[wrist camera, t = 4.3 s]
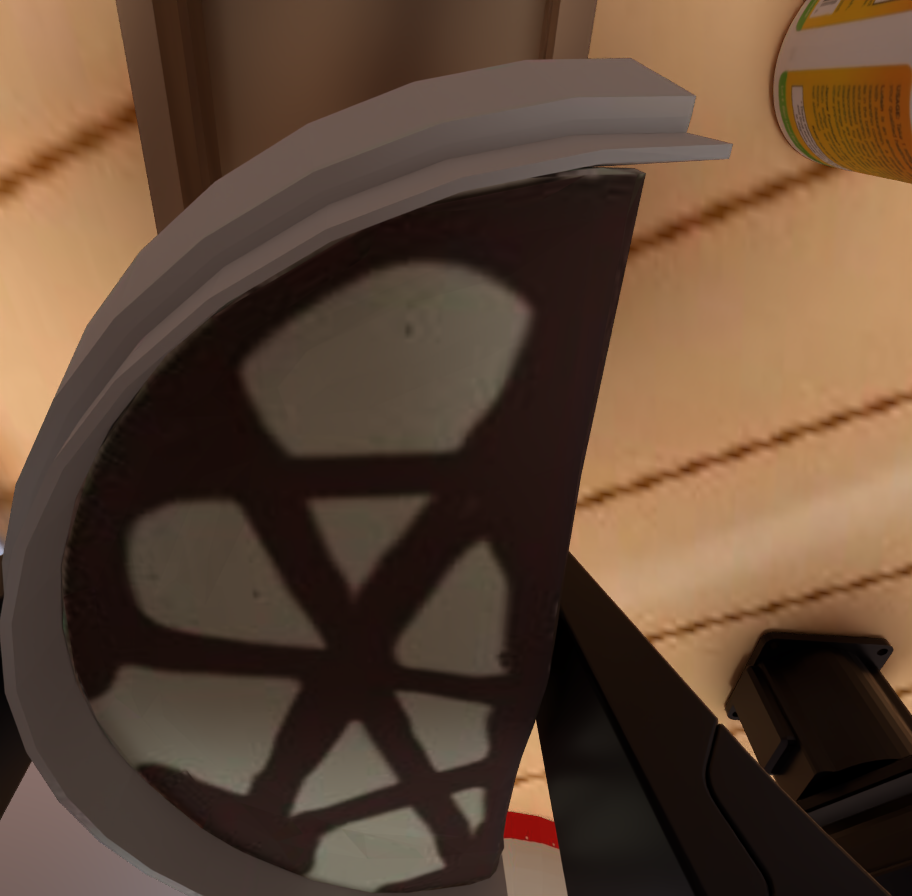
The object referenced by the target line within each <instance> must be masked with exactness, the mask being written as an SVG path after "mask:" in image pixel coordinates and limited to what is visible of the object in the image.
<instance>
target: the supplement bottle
mask: <svg viewBox="0 0 912 896" xmlns="http://www.w3.org/2000/svg"><path fill="white" fill-rule="evenodd" d="M773 97H774V107H775V112H776V116H777V120H778V123H779V126H780V128H781V130H782V132H783V134H784V136H785V138H786V139H787V140H788V142H789V143H790V145H791V146H792V147H793V148H794V149H795V150H797V151H798V152H799V153H800V154H802V155H803V156H805V157H807V158H808V159H810V160H812V161H815V162H817V163H820V164H824V165H827V166H830V167H834V168H838V169H843V170H848V171H853V172H859V173H863V174H868V175H873V176H878V177H883V178H887V179H893V180H898V181H902V182H906V183H911V184H912V0H806V1H805V3H804V4H803V6H802V7H801V8H800V10H799V11H798V13H797V15H796V16H795V18H794V20H793V21H792V23H791V25H790V27H789V29H788V31H787V34H786V36H785V38H784V41H783V43H782V46H781V49H780V52H779V55H778V59H777V63H776V68H775V75H774V85H773Z"/></svg>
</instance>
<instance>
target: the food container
mask: <svg viewBox="0 0 912 896" xmlns="http://www.w3.org/2000/svg"><path fill="white" fill-rule="evenodd" d="M695 99H696V96H695V95H693V94H692V93H690V92H688V91H687V90H685V89H683V88H681V87H680V86H678V85H676V84H675V83H673V82H671V81H669V80H668V79H666V78H664V77H663V76H661V75H659V74H657V73H656V72H654V71H652V70H651V69H649V68H647V67H645V66H644V65H642V64H640V63H639V62H637V61H635V60H633V59H632V58H608V59H546V60H523V61H517V62H512V63H507V64H502V65H497V66H492V67H487V68H482V69H477V70H471V71H466V72H461V73H456V74H451V75H446V76H441V77H436V78H431V79H425V80H420V81H415V82H412V83H409V84H407V85H404V86H402V87H399V88H397V89H394V90H392V91H389V92H387V93H384V94H382V95H379V96H376V97H374V98H371V99H369V100H366V101H364V102H361V103H359V104H356V105H354V106H351V107H349V108H346V109H344V110H341V111H338V112H336V113H333V114H331V115H328V116H326V117H323V118H321V119H318V120H316V121H313V122H311V123H308V124H306V125H305V126H303V127H302V128H300V129H298V130H297V131H295V132H294V133H292V134H290V135H289V136H287V137H286V138H284V139H282V140H281V141H279V142H278V143H276V144H274V145H273V146H271V147H270V148H268V149H266V150H265V151H263V152H262V153H260V154H258V155H257V156H255V157H254V158H252V159H250V160H249V161H247V162H246V163H244V164H242V165H241V166H239V167H238V168H236V169H234V170H233V171H231V172H230V173H228V174H226V175H225V176H223V177H222V178H220V179H218V180H217V181H215V182H214V183H213V184H212V185H211V186H210V187H209V188H208V189H207V190H205V191H204V192H203V193H202V194H201V195H200V196H199V197H198V198H197V199H196V200H195V201H194V202H193V203H191V204H190V205H189V206H188V207H187V208H186V209H185V210H184V211H183V212H182V213H181V214H180V215H179V216H178V217H176V218H175V219H174V220H173V221H172V222H171V223H170V224H169V225H168V226H167V227H166V228H165V229H164V230H162V231H161V232H160V233H159V234H158V235H157V236H156V237H155V238H154V239H153V240H152V241H151V242H150V243H148V244H147V245H146V246H145V247H144V248H143V249H142V250H141V251H140V252H139V254H138V255H137V256H136V258H135V259H134V261H133V262H132V263H131V265H130V266H129V268H128V269H127V270H126V272H125V273H124V275H123V276H122V277H121V279H120V280H119V282H118V283H117V284H116V286H115V287H114V288H113V290H112V291H111V293H110V294H109V295H108V297H107V298H106V300H105V301H104V302H103V304H102V305H101V307H100V308H99V309H98V311H97V312H96V314H95V315H94V316H93V318H92V319H91V321H90V322H89V323H88V325H87V326H86V328H85V331H84V333H83V335H82V337H81V340H80V342H79V344H78V346H77V348H76V351H75V353H74V355H73V357H72V359H71V362H70V364H69V366H68V368H67V371H66V373H65V375H64V377H63V379H62V382H61V384H60V386H59V388H58V391H57V393H56V395H55V397H54V399H53V402H52V404H51V406H50V408H49V411H48V413H47V415H46V417H45V420H44V422H43V424H42V426H41V429H40V431H39V433H38V436H37V438H36V440H35V442H34V445H33V447H32V449H31V451H30V454H29V456H28V458H27V460H26V463H25V465H24V467H23V469H22V472H21V474H20V476H19V479H18V481H17V483H16V486H15V492H14V497H13V503H12V508H11V514H10V520H9V525H8V531H7V536H6V542H5V548H4V553H3V559H2V573H3V587H4V600H3V605H2V611H1V617H0V642H1V654H2V666H3V677H4V689H5V695H6V698H7V700H8V703H9V706H10V709H11V711H12V714H13V717H14V720H15V722H16V725H17V728H18V731H19V734H20V736H21V739H22V742H23V745H24V747H25V750H26V752H27V754H28V756H29V757H30V759H31V760H32V762H33V763H34V765H35V766H36V768H37V769H38V771H39V772H40V774H41V775H42V777H43V778H44V780H45V781H46V783H47V784H48V786H49V787H50V789H51V790H52V792H53V793H54V795H55V797H56V798H57V800H58V801H59V802H60V803H61V804H62V805H63V806H64V807H65V808H66V809H67V810H68V811H69V812H70V813H71V814H72V815H73V816H74V817H75V818H76V819H77V820H78V821H79V822H80V823H81V824H82V825H83V826H84V827H85V828H86V829H87V830H88V831H89V832H90V833H91V834H92V835H93V836H94V837H95V838H96V839H97V840H98V841H99V842H100V843H102V844H103V845H105V846H106V847H108V848H109V849H111V850H112V851H113V852H115V853H116V854H117V855H119V856H120V857H122V858H123V859H125V860H126V861H127V862H129V863H130V864H132V865H133V866H135V867H136V868H138V869H139V870H140V871H142V872H143V873H145V874H146V875H149V876H150V877H153V878H154V879H156V880H158V881H160V882H162V883H164V884H166V885H168V886H171V887H172V888H174V889H176V890H178V891H180V892H182V893H184V894H186V895H188V896H508V892H507V885H506V879H505V872H504V865H503V858H502V851H503V849H504V830H505V823H506V816H507V812H508V808H509V803H510V799H511V795H512V791H513V787H514V782H515V778H516V775H517V771H518V768H519V764H520V761H521V758H522V755H523V752H524V749H525V747H526V744H527V742H528V739H529V736H530V734H531V731H532V729H533V726H534V723H535V720H536V717H537V714H538V711H539V707H540V704H541V701H542V698H543V695H544V692H545V690H546V686H547V683H548V679H549V675H550V669H551V663H552V656H553V650H554V644H555V638H556V631H557V625H558V618H559V611H560V603H561V596H562V588H563V580H564V574H565V568H566V562H567V556H568V551H569V545H570V539H571V533H572V527H573V521H574V515H575V509H576V503H577V497H578V491H579V485H580V479H581V474H582V469H583V464H584V460H585V455H586V450H587V445H588V441H589V436H590V431H591V427H592V422H593V417H594V413H595V408H596V403H597V398H598V394H599V389H600V384H601V380H602V375H603V370H604V366H605V361H606V356H607V351H608V347H609V342H610V337H611V333H612V328H613V323H614V319H615V314H616V309H617V305H618V300H619V295H620V291H621V286H622V281H623V277H624V272H625V267H626V263H627V258H628V253H629V249H630V244H631V239H632V235H633V230H634V225H635V221H636V216H637V212H638V207H639V202H640V198H641V193H642V188H643V184H644V179H645V174H646V173H644V172H641V171H639V170H637V169H635V168H605V167H598V166H615V165H632V164H649V163H667V162H684V161H701V160H718V159H729V157H730V153H731V149H732V146H733V144H731V143H727V142H723V141H719V140H715V139H711V138H706V137H702V136H698V135H694V134H690V133H686V132H687V129H688V126H689V123H690V119H691V116H692V112H693V107H694V103H695Z"/></svg>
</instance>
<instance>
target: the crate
mask: <svg viewBox="0 0 912 896" xmlns="http://www.w3.org/2000/svg"><path fill="white" fill-rule="evenodd" d="M116 5H117V11H118V16H119V22H120V27H121V33H122V38H123V44H124V50H125V55H126V61H127V66H128V72H129V77H130V83H131V89H132V94H133V100H134V105H135V111H136V116H137V122H138V128H139V133H140V139H141V144H142V150H143V155H144V161H145V167H146V172H147V178H148V183H149V189H150V195H151V200H152V206H153V211H154V217H155V222H156V228H157V234H159V233H160V232H161V231H162V230H164V229H165V228H166V227H167V226H168V225H169V224H170V223H171V222H172V221H173V220H174V219H175V218H176V217H178V216H179V215H180V214H181V213H182V212H183V211H184V210H185V209H186V208H187V207H188V206H189V205H190V204H191V203H193V202H194V201H195V200H196V199H197V198H198V197H199V196H200V195H201V194H202V193H203V192H204V191H205V190H207V189H208V188H209V187H210V186H211V185H212V184H213V183H214V182H215V181H217V180H218V179H220V178H222V177H223V176H225V175H226V174H228V173H230V172H231V171H233V170H234V169H236V168H238V167H239V166H241V165H242V164H244V163H246V162H247V161H249V160H250V159H252V158H254V157H255V156H257V155H258V154H260V153H262V152H263V151H265V150H266V149H268V148H270V147H271V146H273V145H274V144H276V143H278V142H279V141H281V140H282V139H284V138H286V137H287V136H289V135H290V134H292V133H294V132H295V131H297V130H298V129H300V128H302V127H303V126H305V125H306V124H308V123H311V122H313V121H316V120H318V119H321V118H323V117H326V116H328V115H331V114H333V113H336V112H338V111H341V110H344V109H346V108H349V107H351V106H354V105H356V104H359V103H361V102H364V101H366V100H369V99H371V98H374V97H376V96H379V95H382V94H384V93H387V92H389V91H392V90H394V89H397V88H399V87H402V86H404V85H407V84H409V83H412V82H415V81H420V80H425V79H431V78H436V77H441V76H446V75H451V74H456V73H461V72H466V71H471V70H477V69H482V68H487V67H492V66H497V65H502V64H507V63H512V62H517V61H523V60H546V59H588V53H589V47H590V41H591V35H592V29H593V23H594V17H595V11H596V5H597V0H116Z"/></svg>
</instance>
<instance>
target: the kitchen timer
mask: <svg viewBox="0 0 912 896" xmlns="http://www.w3.org/2000/svg"><path fill="white" fill-rule="evenodd" d="M502 858H503V865H504V872H505V879H506V885H507V892H508V896H568V895H567V890H566V884H565V878H564V873H563V867H562V862H561V856H560V851H559V845H558V839H557V834H556V828H555V823H554V822H552V821H549V820H547V819H544V818H541V817H538V816H533V815H527V814H521V813H515V812H507V816H506V823H505V830H504V849H503V851H502Z"/></svg>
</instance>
